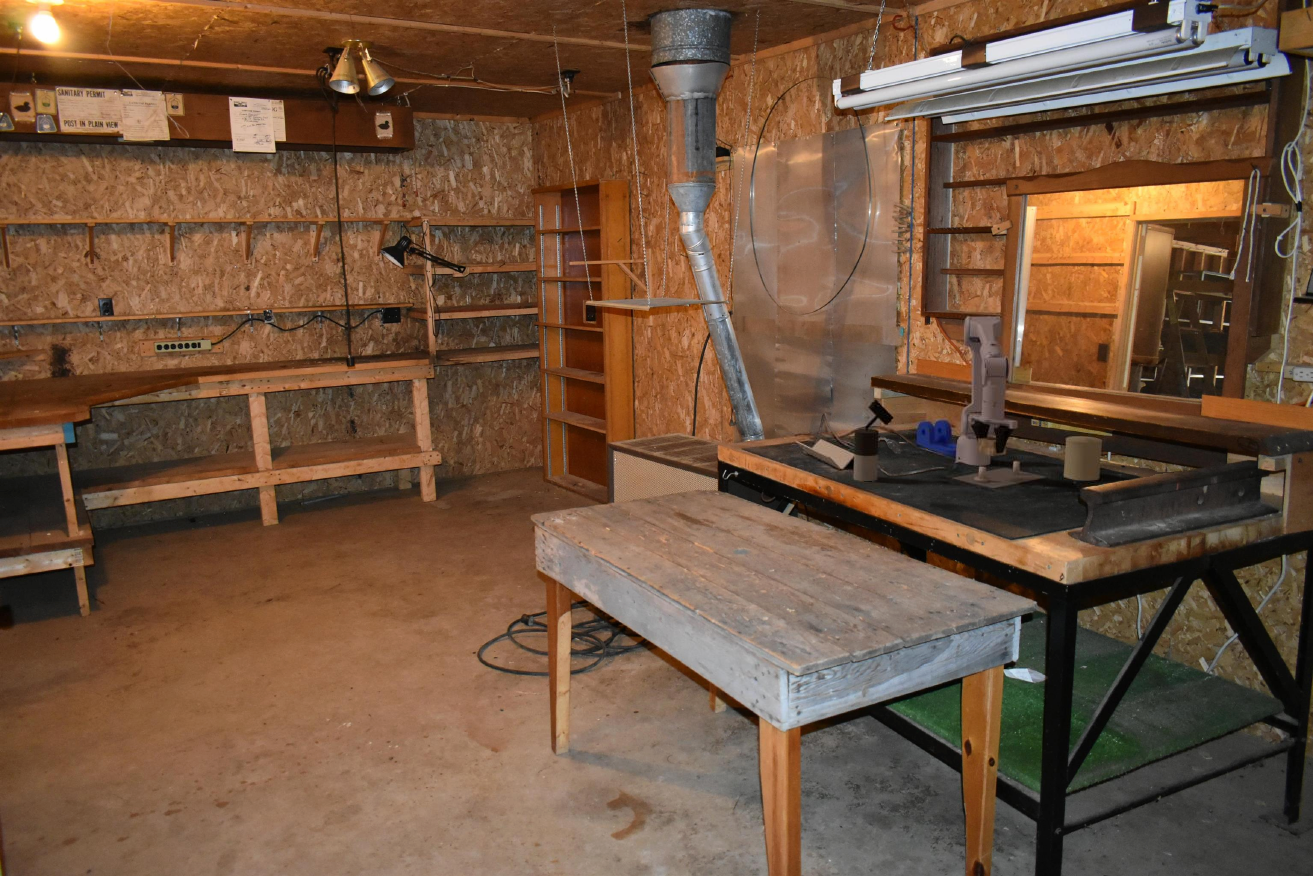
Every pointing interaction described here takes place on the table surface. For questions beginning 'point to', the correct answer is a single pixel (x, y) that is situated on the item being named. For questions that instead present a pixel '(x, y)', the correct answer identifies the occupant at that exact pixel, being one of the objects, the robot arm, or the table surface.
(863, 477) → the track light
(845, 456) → the beige v-shaped trough
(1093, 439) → the can
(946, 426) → the bracket
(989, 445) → the ash collar
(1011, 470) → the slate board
